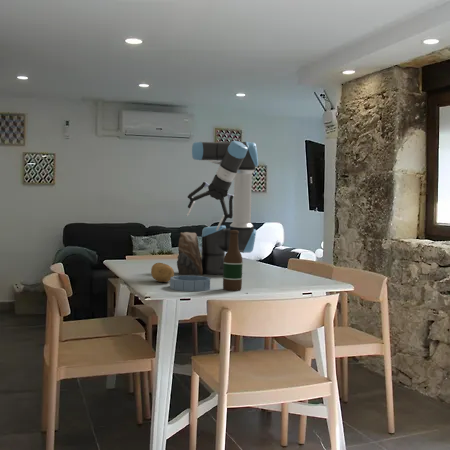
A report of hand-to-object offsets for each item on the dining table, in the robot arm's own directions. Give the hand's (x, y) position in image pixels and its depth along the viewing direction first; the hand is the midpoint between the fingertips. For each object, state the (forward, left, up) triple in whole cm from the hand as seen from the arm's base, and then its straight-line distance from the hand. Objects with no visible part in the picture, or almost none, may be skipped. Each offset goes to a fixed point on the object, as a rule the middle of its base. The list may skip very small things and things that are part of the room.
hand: (202, 222), depth 239 cm
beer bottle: (+8, +13, -27) cm, 31 cm away
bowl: (+8, -4, -26) cm, 28 cm away
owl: (-37, -7, -27) cm, 46 cm away
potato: (-6, -17, -27) cm, 32 cm away
